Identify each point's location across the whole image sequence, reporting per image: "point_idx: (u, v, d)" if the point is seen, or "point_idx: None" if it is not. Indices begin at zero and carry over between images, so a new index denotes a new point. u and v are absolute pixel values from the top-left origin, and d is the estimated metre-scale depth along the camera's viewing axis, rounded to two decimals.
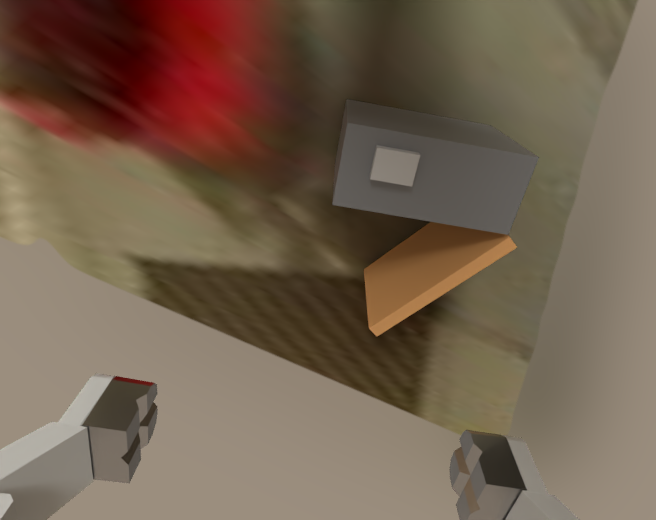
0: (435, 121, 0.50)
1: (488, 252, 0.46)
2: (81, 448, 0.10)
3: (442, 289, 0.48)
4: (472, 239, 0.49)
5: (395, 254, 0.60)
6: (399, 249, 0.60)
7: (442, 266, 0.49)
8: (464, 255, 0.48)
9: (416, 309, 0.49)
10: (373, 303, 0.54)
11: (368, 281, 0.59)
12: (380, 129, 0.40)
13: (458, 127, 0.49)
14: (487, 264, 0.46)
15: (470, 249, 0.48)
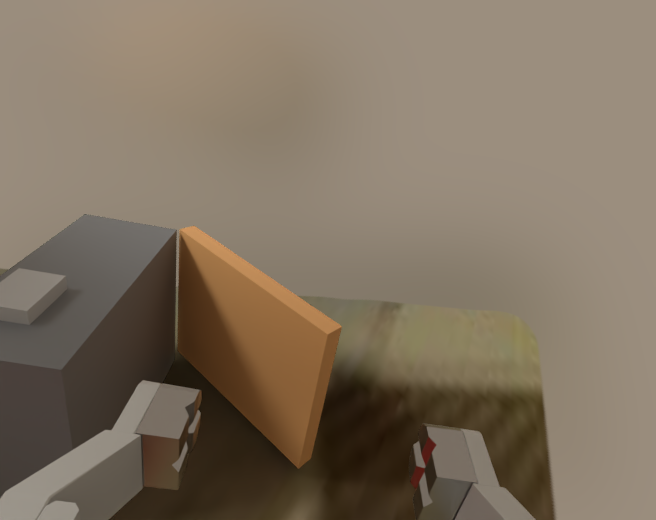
0: None
1: (198, 240, 0.38)
2: (134, 456, 0.10)
3: (249, 269, 0.36)
4: (199, 282, 0.40)
5: (258, 411, 0.38)
6: (253, 411, 0.39)
7: (229, 292, 0.37)
8: (210, 270, 0.38)
9: (284, 289, 0.34)
10: (308, 374, 0.32)
11: (300, 430, 0.35)
12: None
13: None
14: (214, 241, 0.39)
15: (204, 271, 0.38)
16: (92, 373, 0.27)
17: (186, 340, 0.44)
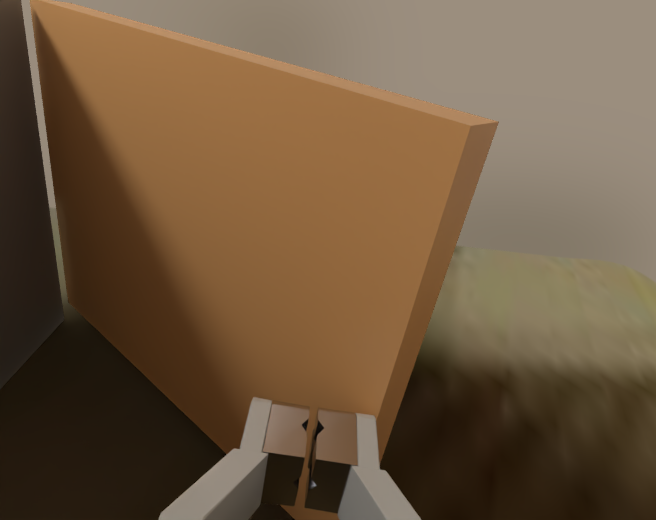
0: None
1: (67, 7, 0.16)
2: (261, 474, 0.10)
3: (191, 39, 0.13)
4: (81, 124, 0.17)
5: (230, 417, 0.16)
6: (218, 417, 0.17)
7: (143, 117, 0.14)
8: (97, 74, 0.15)
9: (289, 65, 0.12)
10: (374, 301, 0.10)
11: None
12: None
13: None
14: (110, 14, 0.16)
15: (87, 86, 0.16)
16: None
17: (77, 276, 0.21)
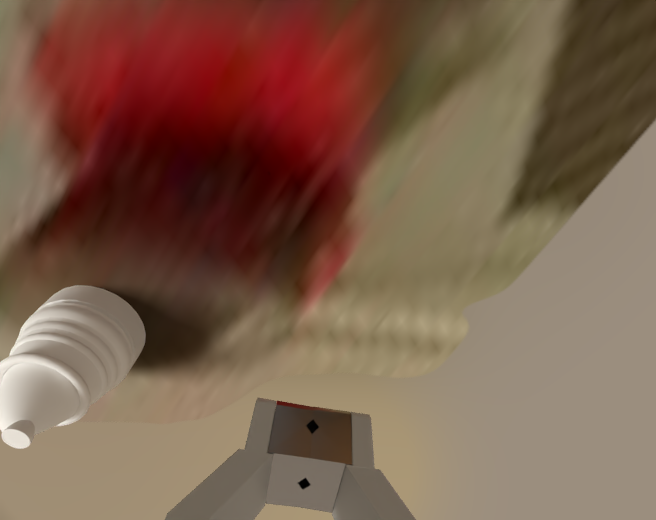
0: None
1: None
2: (266, 475, 0.10)
3: None
4: None
5: None
6: None
7: None
8: None
9: None
10: None
11: None
12: None
13: None
14: None
15: None
16: None
17: None
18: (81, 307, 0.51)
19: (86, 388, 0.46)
